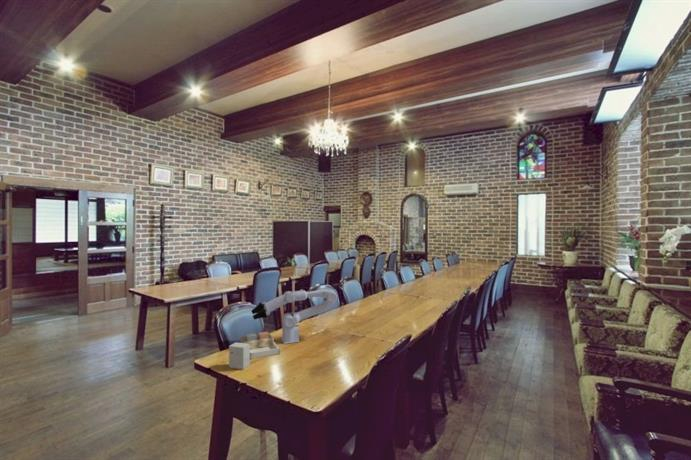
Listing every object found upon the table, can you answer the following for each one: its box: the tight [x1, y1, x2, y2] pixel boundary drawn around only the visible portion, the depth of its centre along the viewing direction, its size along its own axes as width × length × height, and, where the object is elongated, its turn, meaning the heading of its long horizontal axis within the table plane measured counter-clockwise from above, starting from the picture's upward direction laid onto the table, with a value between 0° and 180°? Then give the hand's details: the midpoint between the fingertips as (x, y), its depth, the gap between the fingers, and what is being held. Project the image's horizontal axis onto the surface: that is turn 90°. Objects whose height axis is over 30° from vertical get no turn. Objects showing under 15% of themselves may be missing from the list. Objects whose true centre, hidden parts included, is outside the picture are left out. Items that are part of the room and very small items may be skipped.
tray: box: [250, 341, 281, 360], centre depth 177 cm, size 16×12×3 cm
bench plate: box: [240, 333, 275, 350], centre depth 188 cm, size 16×12×4 cm
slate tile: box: [245, 332, 258, 341], centre depth 187 cm, size 5×5×2 cm
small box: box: [228, 342, 251, 370], centre depth 160 cm, size 8×6×10 cm
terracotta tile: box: [257, 331, 270, 339], centre depth 190 cm, size 5×5×2 cm
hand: (252, 315), depth 190 cm, fingers open, 7 cm apart
